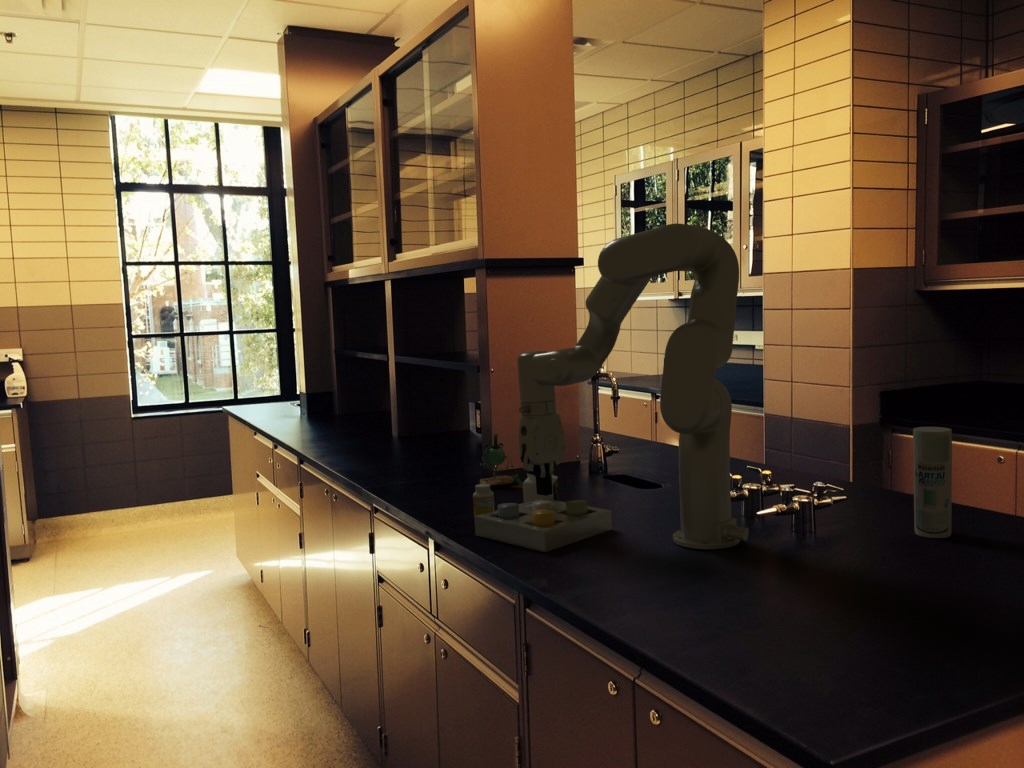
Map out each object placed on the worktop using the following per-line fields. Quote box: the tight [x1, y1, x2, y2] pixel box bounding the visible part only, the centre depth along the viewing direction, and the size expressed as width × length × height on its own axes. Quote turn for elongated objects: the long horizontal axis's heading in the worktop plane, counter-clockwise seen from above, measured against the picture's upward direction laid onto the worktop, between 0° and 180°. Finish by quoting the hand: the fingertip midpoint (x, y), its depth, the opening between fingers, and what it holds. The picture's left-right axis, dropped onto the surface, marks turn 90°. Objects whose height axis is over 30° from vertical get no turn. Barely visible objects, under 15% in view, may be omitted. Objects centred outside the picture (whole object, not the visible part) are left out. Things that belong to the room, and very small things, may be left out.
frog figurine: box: [479, 433, 523, 489], centre depth 220 cm, size 10×18×15 cm, turn 30°
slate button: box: [497, 502, 520, 520], centre depth 170 cm, size 4×4×4 cm
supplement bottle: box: [472, 483, 496, 522], centre depth 180 cm, size 5×5×8 cm
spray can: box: [912, 426, 953, 539], centre depth 155 cm, size 6×6×20 cm
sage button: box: [565, 499, 588, 517], centre depth 170 cm, size 4×4×4 cm
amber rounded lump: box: [532, 510, 555, 528], centre depth 163 cm, size 4×4×4 cm
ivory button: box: [532, 501, 552, 510], centre depth 177 cm, size 4×4×4 cm
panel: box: [473, 498, 613, 553], centre depth 170 cm, size 20×20×4 cm
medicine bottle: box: [522, 466, 560, 503], centre depth 190 cm, size 7×7×12 cm
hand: (544, 494), depth 177 cm, fingers closed
